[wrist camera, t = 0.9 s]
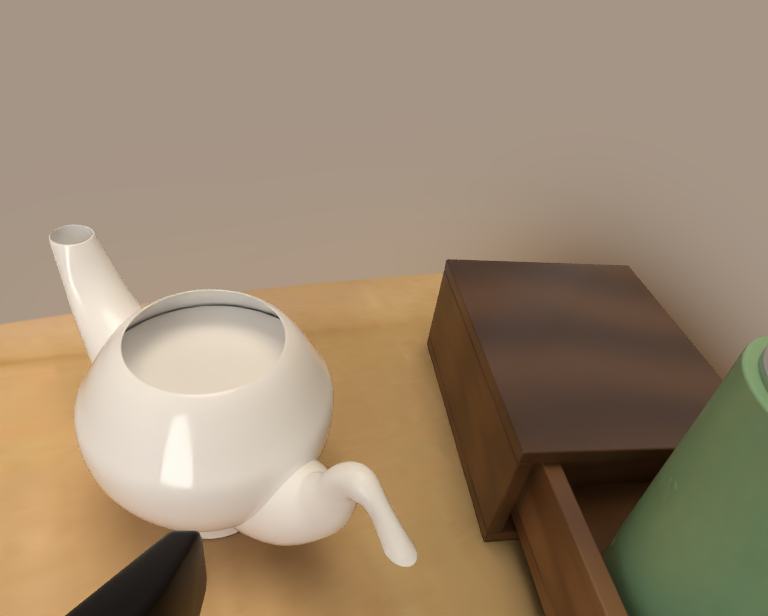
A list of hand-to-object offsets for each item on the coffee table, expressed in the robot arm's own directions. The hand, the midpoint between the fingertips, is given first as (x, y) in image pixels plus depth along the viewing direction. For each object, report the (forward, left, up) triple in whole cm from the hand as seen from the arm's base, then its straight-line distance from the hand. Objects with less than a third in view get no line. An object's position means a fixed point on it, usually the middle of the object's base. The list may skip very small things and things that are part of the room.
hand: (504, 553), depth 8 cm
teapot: (+12, +6, -16) cm, 21 cm away
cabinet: (+15, -12, -16) cm, 25 cm away
